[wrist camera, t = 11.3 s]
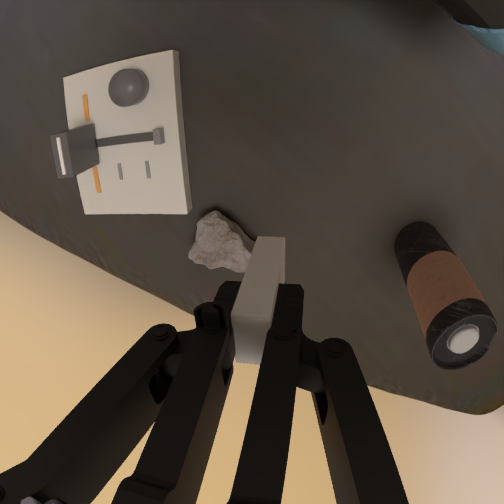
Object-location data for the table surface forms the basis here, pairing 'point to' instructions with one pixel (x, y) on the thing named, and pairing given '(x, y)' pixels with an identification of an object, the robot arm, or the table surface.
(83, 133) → the fader
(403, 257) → the travel mug
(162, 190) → the console
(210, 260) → the stone
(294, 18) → the table surface
